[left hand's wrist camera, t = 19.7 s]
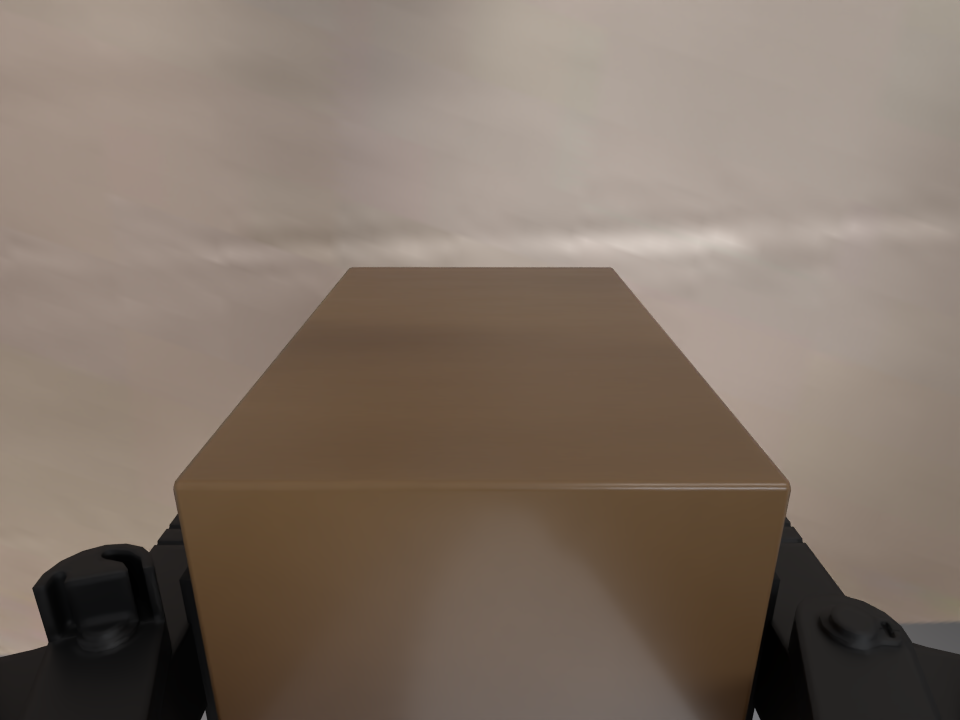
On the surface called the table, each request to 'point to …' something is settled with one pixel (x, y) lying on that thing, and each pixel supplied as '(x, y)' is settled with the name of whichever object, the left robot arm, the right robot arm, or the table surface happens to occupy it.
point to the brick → (481, 512)
